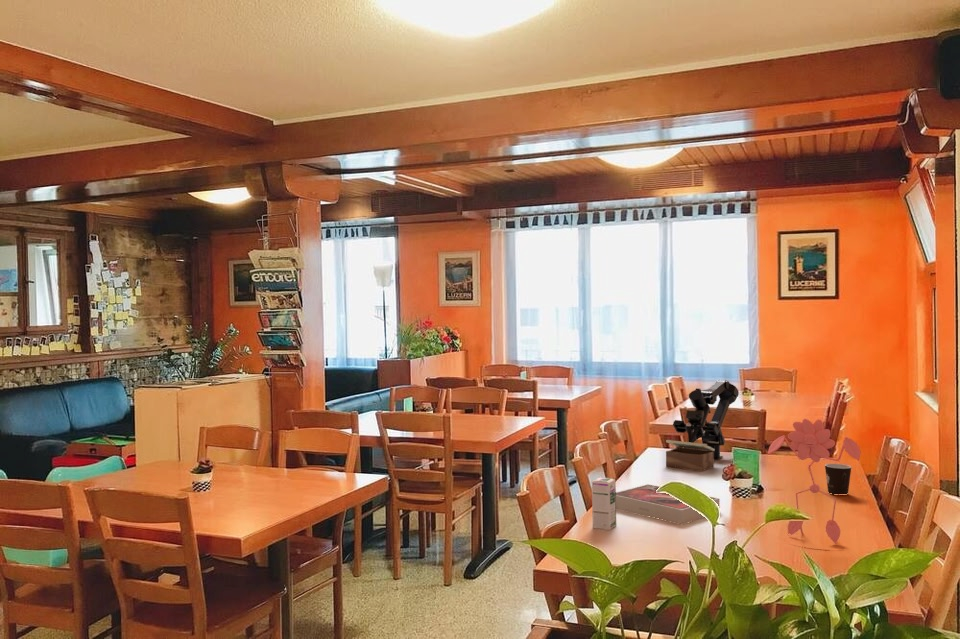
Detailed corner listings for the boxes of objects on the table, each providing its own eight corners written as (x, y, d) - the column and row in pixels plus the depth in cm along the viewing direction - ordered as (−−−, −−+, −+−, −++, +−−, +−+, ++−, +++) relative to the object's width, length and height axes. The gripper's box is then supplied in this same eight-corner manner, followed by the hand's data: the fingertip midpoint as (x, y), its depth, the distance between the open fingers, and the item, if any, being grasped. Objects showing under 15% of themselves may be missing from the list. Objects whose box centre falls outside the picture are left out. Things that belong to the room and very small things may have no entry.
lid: (677, 446, 330) (677, 444, 330) (714, 451, 319) (714, 448, 319) (665, 442, 321) (666, 439, 321) (703, 446, 310) (703, 443, 310)
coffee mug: (826, 489, 277) (826, 462, 276) (852, 492, 272) (852, 465, 272) (822, 496, 267) (822, 468, 266) (849, 499, 262) (849, 470, 262)
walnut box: (678, 462, 329) (678, 447, 329) (713, 466, 319) (713, 451, 319) (666, 466, 320) (666, 451, 320) (702, 471, 310) (702, 455, 310)
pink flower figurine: (774, 526, 229) (773, 412, 228) (866, 544, 212) (866, 420, 211) (754, 539, 217) (753, 418, 216) (850, 558, 200) (850, 427, 199)
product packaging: (647, 498, 267) (647, 484, 267) (719, 513, 246) (719, 498, 246) (609, 508, 253) (609, 494, 253) (682, 526, 232) (682, 510, 232)
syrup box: (610, 530, 226) (610, 482, 226) (591, 527, 229) (591, 480, 228) (616, 525, 231) (616, 478, 231) (598, 523, 234) (598, 476, 233)
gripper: (674, 401, 329) (663, 430, 321) (715, 404, 317) (705, 434, 309) (682, 417, 336) (671, 445, 327) (723, 421, 324) (713, 450, 315)
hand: (689, 443), depth 320 cm, fingers closed, pressing on lid
